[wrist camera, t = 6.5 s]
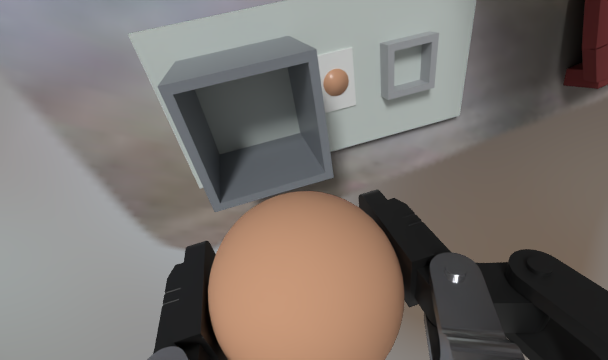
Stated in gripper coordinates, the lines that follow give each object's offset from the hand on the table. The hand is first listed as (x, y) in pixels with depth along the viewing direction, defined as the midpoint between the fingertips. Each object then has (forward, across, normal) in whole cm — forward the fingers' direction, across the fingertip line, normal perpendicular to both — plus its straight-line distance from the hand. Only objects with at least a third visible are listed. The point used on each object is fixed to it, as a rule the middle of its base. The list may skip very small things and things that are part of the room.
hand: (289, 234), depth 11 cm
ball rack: (+18, -8, 0) cm, 20 cm away
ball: (-2, 0, 0) cm, 2 cm away
